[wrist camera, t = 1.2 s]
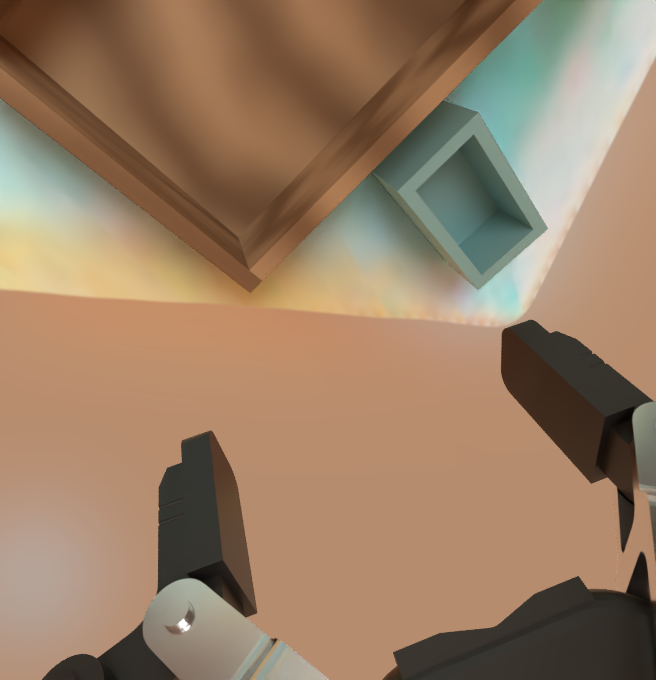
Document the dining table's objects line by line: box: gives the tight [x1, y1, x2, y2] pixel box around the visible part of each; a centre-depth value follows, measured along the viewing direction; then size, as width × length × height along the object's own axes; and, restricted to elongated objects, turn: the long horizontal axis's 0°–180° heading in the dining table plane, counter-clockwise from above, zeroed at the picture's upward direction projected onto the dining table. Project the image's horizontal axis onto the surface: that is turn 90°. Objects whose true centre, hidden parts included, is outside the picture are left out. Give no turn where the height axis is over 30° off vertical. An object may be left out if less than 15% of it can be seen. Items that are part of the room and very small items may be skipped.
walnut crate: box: [0, 0, 543, 293], centre depth 23 cm, size 22×17×6 cm
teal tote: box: [372, 101, 548, 290], centre depth 33 cm, size 6×10×5 cm, turn 42°
